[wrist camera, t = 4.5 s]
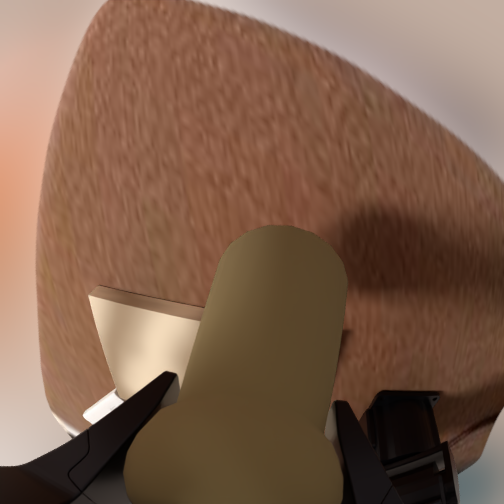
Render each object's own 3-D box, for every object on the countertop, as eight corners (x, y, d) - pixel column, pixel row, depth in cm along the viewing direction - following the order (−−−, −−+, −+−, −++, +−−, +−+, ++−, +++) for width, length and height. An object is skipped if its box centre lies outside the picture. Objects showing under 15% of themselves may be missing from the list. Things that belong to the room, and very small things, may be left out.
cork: (351, 333, 14) (350, 564, 5) (234, 341, 16) (158, 540, 6) (341, 215, 12) (372, 527, 2) (200, 235, 14) (32, 453, 4)
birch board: (330, 327, 21) (331, 341, 19) (297, 425, 27) (296, 438, 25) (98, 285, 23) (88, 295, 21) (125, 387, 29) (119, 397, 27)
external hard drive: (86, 408, 35) (119, 383, 29) (133, 441, 36) (176, 424, 31) (81, 416, 33) (112, 394, 28) (129, 449, 35) (172, 435, 30)
